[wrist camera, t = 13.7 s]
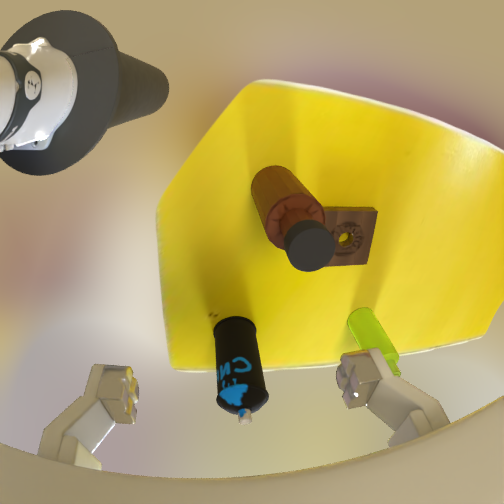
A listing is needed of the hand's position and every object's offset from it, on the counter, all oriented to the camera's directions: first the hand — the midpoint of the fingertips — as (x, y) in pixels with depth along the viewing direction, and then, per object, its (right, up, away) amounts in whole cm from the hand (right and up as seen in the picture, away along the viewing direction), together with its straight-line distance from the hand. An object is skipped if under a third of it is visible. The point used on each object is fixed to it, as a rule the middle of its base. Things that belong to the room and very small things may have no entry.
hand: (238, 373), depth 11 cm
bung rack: (+16, +7, +38) cm, 42 cm away
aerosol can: (-3, -11, +46) cm, 48 cm away
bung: (+6, +7, +20) cm, 22 cm away
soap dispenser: (+23, -10, +49) cm, 55 cm away
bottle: (+4, +14, +33) cm, 36 cm away
